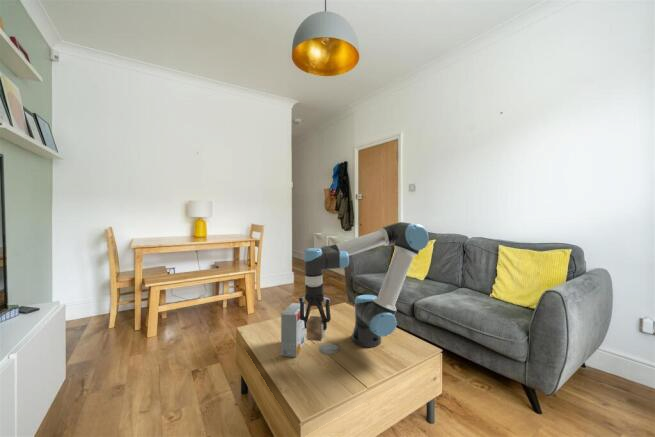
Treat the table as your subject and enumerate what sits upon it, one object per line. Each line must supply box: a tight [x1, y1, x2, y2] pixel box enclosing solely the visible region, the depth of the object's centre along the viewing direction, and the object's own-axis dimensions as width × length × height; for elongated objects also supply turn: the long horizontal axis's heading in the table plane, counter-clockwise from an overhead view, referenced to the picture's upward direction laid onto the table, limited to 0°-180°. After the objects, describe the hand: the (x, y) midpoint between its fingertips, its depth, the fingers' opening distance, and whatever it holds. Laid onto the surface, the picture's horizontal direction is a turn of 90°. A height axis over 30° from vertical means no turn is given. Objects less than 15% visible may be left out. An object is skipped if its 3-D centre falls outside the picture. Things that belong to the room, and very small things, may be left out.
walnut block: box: [306, 315, 323, 342], centre depth 117 cm, size 6×6×8 cm
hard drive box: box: [280, 302, 306, 358], centre depth 131 cm, size 16×8×20 cm, turn 168°
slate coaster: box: [319, 342, 339, 355], centre depth 131 cm, size 9×9×1 cm
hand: (315, 335), depth 117 cm, fingers closed on walnut block, 6 cm apart
